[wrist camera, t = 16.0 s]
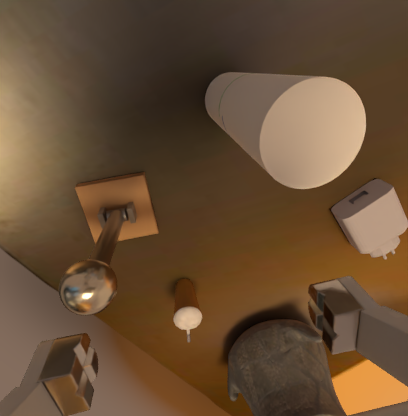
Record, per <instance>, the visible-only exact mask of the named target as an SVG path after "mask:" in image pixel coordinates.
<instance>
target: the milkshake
mask: <svg viewBox="0 0 408 416" xmlns="http://www.w3.org/2000/svg"><path fill="white" fill-rule="evenodd" d="M201 320H202V314H201V310H200V307H199V304H198V300H197V297H196V293H195V289H194V285H193V282H192V281H191V280H190V279H185V278H183V279H180V280H178V282H177V283H176V287H175V307H174V324H175V325H176V326H177V327H178V328H180V329H184V330H187V341H188V342H191V341H190V329H193V328H196V327H197V326H198V325H199V324H200V322H201Z"/></svg>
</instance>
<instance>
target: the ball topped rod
mask: <svg viewBox="0 0 408 416" xmlns="http://www.w3.org/2000/svg"><path fill="white" fill-rule="evenodd" d="M106 218H107V221H106V223H105V226H104V228H103V230H102V232H101V234H100V236H99V238H98V240H97V242H96V244H95V247H94V249H93V251H92V253H91V255H90V257H89V259H86V260H82V261H79V262H77V263H75V264H73V265H72V266H71V267H69V268H68V269H67V270H66V272H65V273H64V274H63V276H62V278H61V281H60V285H59V295H60V298H61V301H62V303H63V305H64V306H65V307H66V308H67V309H68V310H70V311H71V312H73V313H75V314H78V315H93V314H96V313H99V312H101V311H102V310H104V309H105V308H106V307H108V306H109V304H110V303H111V302H112V301H113V299H114V297H115V295H116V291H117V278H116V275H115V273H114V271H113V270H112V268H111V267H110V266H109V265H110V262H111V259H112V256H113V253H114V250H115V247H116V244H117V241H118V238H119V235H120V232H121V229H122V226H123V223H124V221H128V220H129V216H128V213H127V208H120V209H115V210H109V211H107V212H106Z"/></svg>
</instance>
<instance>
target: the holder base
mask: <svg viewBox="0 0 408 416" xmlns="http://www.w3.org/2000/svg"><path fill="white" fill-rule="evenodd" d="M75 189H76V192H77V195H78V198H79V200H80V203H81V206H82V208H83V211H84V214H85V217H86V219H87V222H88V225H89V228H90V230H91V233H92V236H93V238H94V241H95V244H96V242H97V240H98V238H99V236H100V234H101V232H102V230H103V228H104V226H105V223H106V221H107V218H106V212H107V211H109V210H115V209H120V208H127V213H128V216H129V220H128V221H124V223H123V226H122V229H121V232H120V235H119V238H118V241H121V240H126V239H131V238H136V237H141V236H146V235H151V234H157V233H158V225H157V221H156V217H155V213H154V209H153V205H152V200H151V196H150V192H149V188H148V184H147V180H146V176H145V172H140V173H135V174H129V175H124V176H118V177H113V178H107V179H102V180H96V181H91V182H85V183H80V184H77V185H76V187H75Z"/></svg>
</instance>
